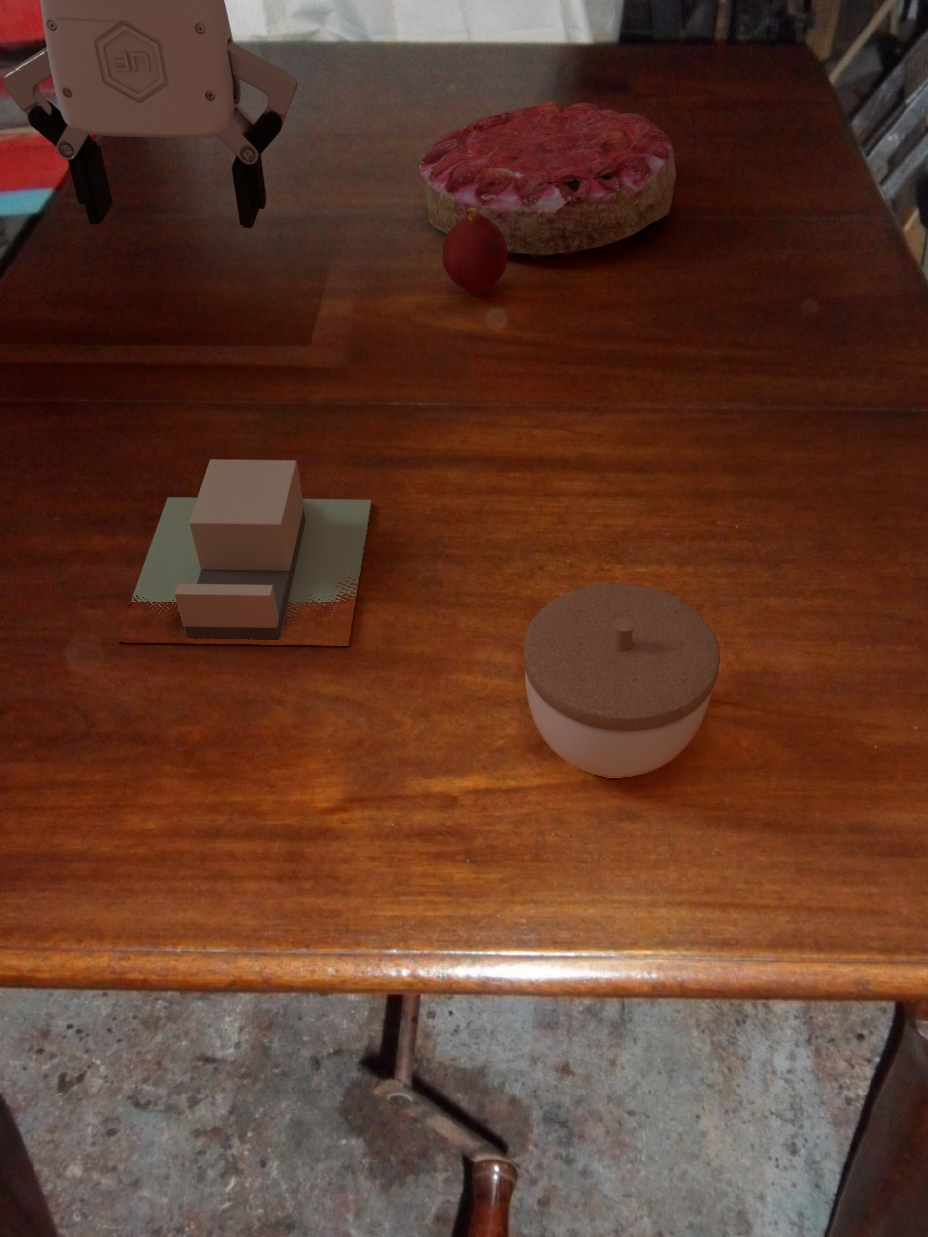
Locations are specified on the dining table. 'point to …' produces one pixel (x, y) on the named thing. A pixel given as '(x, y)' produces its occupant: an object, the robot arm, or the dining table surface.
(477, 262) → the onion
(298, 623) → the dining table surface
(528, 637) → the trinket box
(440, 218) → the cake
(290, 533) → the block with front tab
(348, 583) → the mat
